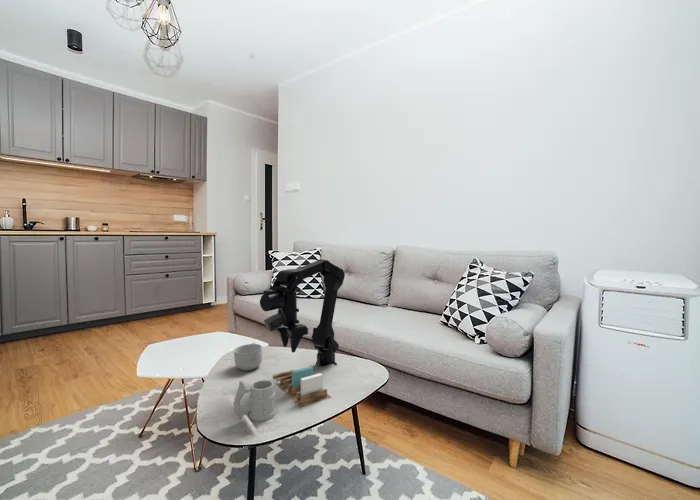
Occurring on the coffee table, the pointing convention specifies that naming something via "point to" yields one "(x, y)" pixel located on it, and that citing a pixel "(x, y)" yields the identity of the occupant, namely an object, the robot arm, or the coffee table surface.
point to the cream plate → (311, 384)
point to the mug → (256, 400)
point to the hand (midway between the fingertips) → (289, 349)
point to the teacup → (248, 356)
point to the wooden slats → (282, 374)
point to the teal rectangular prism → (300, 375)
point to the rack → (296, 393)
